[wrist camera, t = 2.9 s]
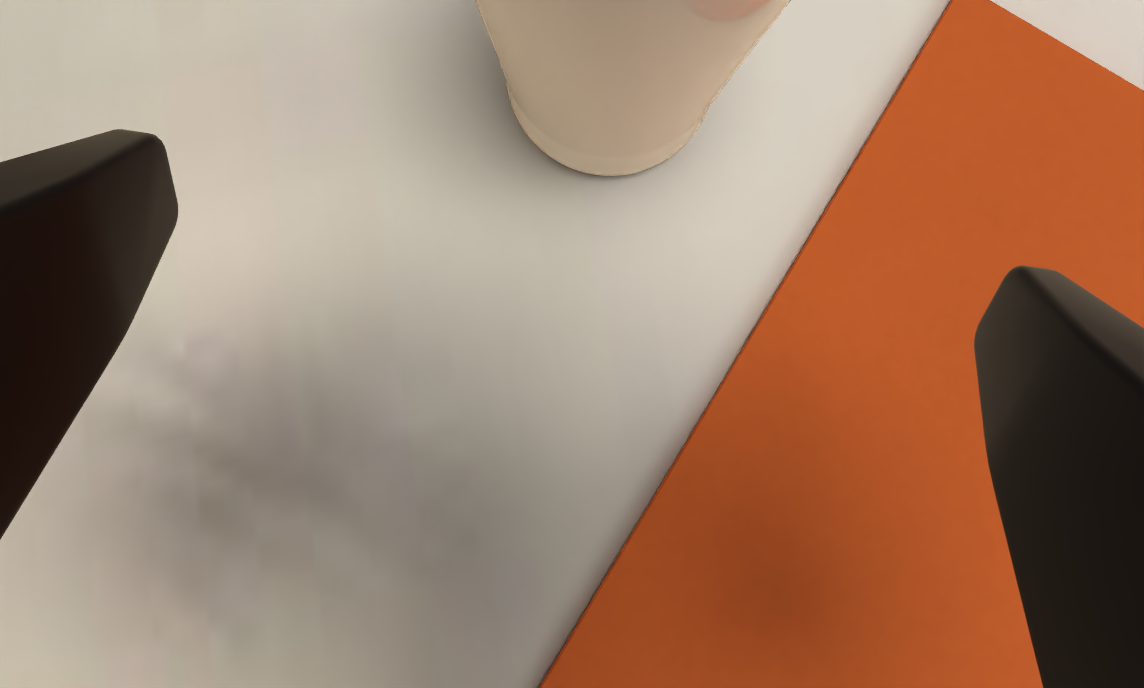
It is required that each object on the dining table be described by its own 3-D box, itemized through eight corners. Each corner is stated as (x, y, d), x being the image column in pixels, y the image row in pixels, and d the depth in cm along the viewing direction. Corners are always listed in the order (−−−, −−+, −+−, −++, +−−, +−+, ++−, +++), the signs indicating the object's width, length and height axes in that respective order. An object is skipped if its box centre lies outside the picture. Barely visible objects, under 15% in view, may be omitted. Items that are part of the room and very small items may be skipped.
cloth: (976, 993, 21) (982, 1002, 21) (525, 710, 21) (524, 714, 21) (1383, 240, 22) (1395, 237, 22) (957, -11, 23) (962, -17, 23)
